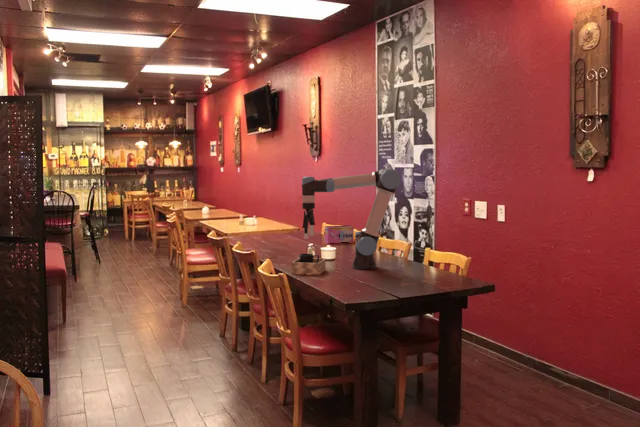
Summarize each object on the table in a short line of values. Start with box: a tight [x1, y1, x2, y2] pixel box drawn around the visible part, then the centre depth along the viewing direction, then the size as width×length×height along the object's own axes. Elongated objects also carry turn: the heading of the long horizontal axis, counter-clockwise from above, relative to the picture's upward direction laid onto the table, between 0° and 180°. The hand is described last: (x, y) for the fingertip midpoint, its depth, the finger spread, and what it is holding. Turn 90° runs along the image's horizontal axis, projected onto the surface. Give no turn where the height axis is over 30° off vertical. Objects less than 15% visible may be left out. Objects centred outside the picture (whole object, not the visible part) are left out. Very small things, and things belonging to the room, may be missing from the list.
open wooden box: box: [291, 257, 327, 276], centre depth 359 cm, size 17×17×7 cm
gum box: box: [324, 224, 355, 245], centre depth 483 cm, size 24×8×14 cm, turn 108°
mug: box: [299, 253, 320, 263], centre depth 360 cm, size 8×12×10 cm
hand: (309, 237), depth 357 cm, fingers open, 13 cm apart
